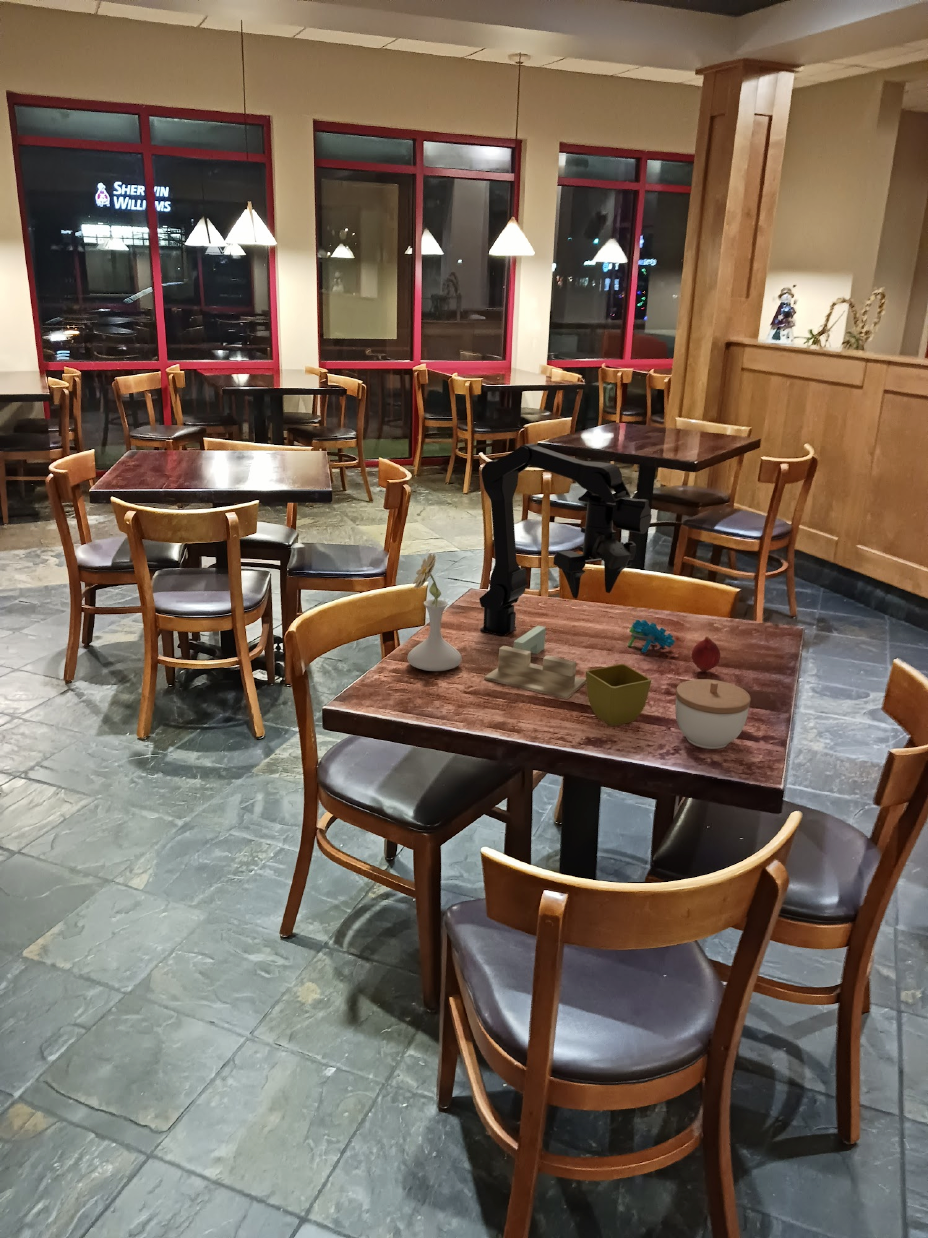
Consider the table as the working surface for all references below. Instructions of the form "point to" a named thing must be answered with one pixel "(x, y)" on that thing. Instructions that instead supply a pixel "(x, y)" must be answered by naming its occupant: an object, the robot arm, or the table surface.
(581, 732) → the table surface
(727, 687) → the lidded bowl
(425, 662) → the flower in vase
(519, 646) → the sage board
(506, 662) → the maple jig
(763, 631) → the table surface
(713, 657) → the onion
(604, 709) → the flower pot
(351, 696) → the table surface
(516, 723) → the table surface
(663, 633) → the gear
